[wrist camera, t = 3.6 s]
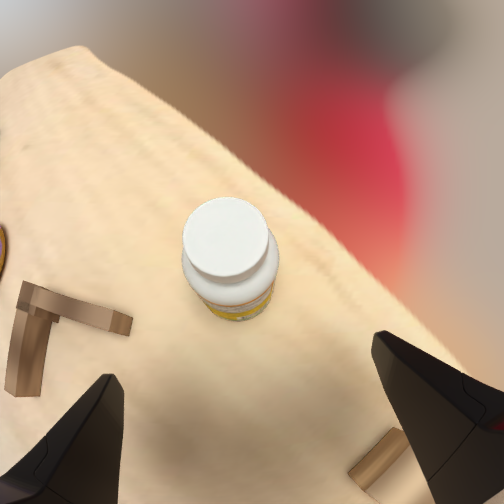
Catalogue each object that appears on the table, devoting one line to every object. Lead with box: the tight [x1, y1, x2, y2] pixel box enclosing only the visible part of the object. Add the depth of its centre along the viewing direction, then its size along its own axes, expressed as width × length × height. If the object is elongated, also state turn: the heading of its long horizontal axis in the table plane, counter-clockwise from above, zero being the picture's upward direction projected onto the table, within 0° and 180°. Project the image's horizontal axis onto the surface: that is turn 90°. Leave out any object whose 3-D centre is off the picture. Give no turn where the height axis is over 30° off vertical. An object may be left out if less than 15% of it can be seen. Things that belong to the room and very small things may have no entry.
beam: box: [348, 427, 435, 504], centre depth 14 cm, size 12×5×4 cm, turn 43°
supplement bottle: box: [182, 197, 279, 321], centre depth 18 cm, size 5×5×10 cm
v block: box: [4, 281, 133, 397], centre depth 20 cm, size 8×13×4 cm, turn 126°
